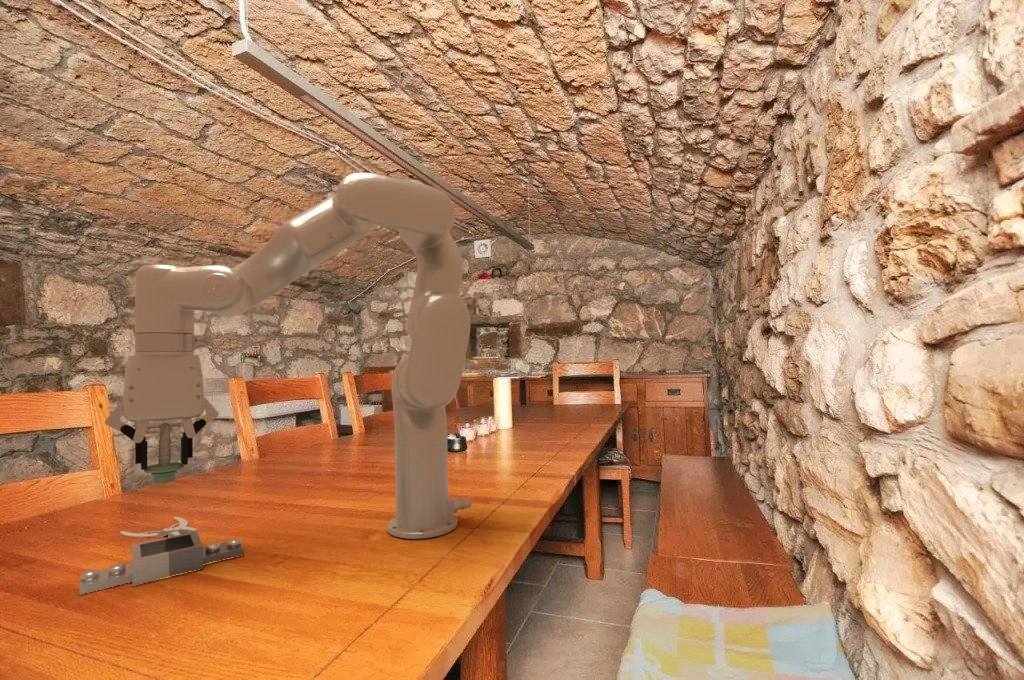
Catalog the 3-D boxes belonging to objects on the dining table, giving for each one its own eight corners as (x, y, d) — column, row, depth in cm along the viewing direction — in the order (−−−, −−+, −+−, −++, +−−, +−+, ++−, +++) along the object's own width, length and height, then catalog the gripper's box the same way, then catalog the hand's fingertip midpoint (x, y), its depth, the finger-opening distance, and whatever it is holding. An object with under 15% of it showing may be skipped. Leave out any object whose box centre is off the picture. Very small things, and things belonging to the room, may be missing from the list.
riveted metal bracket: (236, 543, 86) (236, 523, 86) (245, 559, 79) (245, 536, 79) (82, 578, 73) (82, 554, 73) (78, 600, 67) (78, 573, 67)
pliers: (176, 512, 101) (216, 524, 93) (176, 520, 101) (216, 532, 93) (118, 527, 92) (156, 541, 84) (118, 536, 92) (156, 551, 84)
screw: (136, 484, 75) (169, 476, 80) (158, 487, 73) (191, 479, 78) (136, 423, 75) (170, 419, 80) (159, 425, 73) (191, 420, 78)
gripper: (224, 346, 85) (223, 454, 85) (95, 346, 75) (93, 469, 74) (231, 345, 79) (231, 461, 79) (92, 345, 69) (91, 479, 68)
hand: (164, 464), depth 76 cm, fingers closed on screw, 4 cm apart
